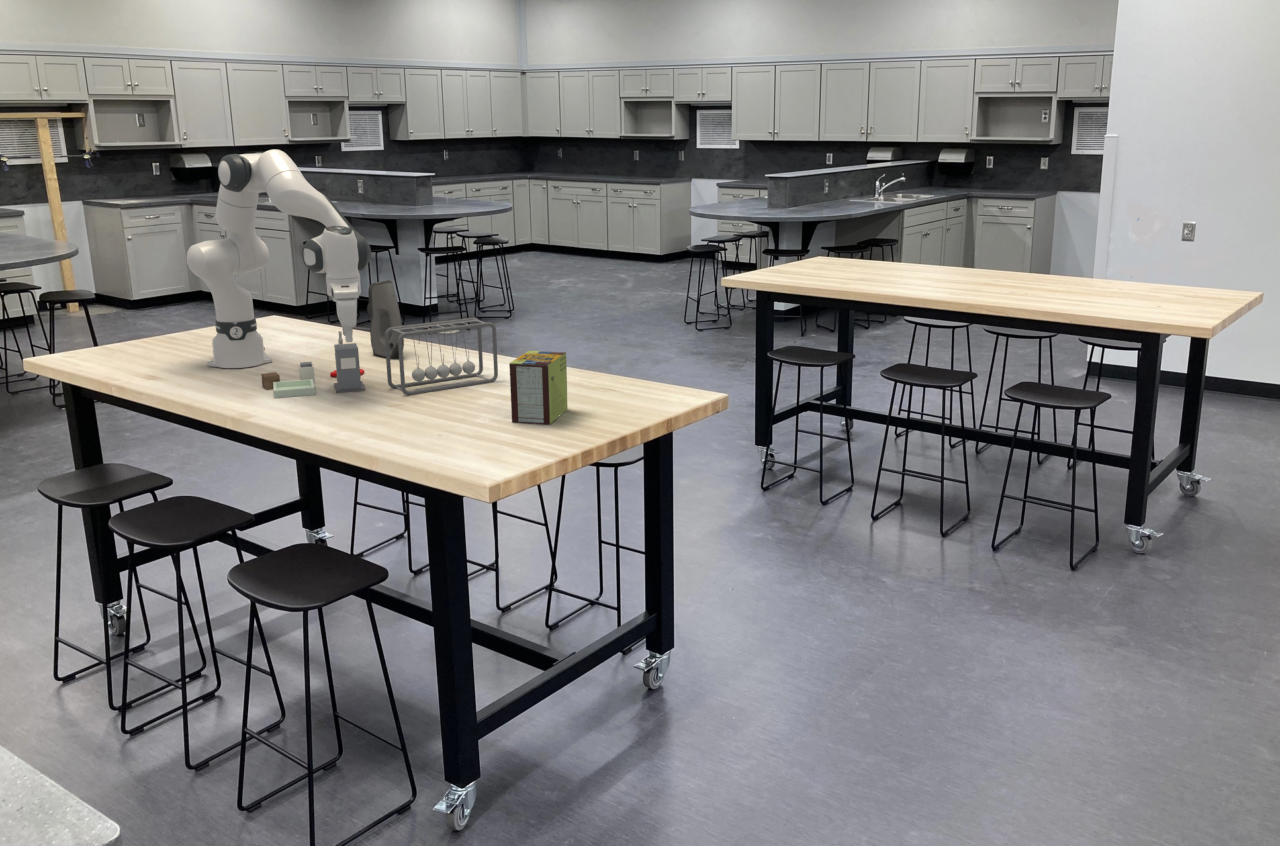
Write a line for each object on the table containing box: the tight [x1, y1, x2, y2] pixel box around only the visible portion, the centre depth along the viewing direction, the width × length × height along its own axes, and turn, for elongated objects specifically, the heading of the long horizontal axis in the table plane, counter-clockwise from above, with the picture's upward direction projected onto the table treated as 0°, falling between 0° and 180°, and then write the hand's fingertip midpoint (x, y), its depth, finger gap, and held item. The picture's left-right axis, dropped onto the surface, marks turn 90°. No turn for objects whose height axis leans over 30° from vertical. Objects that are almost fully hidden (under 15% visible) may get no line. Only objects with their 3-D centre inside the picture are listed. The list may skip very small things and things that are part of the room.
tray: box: [272, 379, 316, 399], centre depth 295 cm, size 11×11×2 cm
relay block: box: [298, 361, 316, 385], centre depth 305 cm, size 4×4×6 cm
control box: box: [333, 342, 366, 394], centre depth 299 cm, size 10×8×12 cm
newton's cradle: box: [385, 317, 499, 396], centre depth 301 cm, size 30×10×18 cm, turn 126°
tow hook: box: [329, 330, 365, 378], centre depth 316 cm, size 9×14×10 cm
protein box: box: [509, 350, 569, 425], centre depth 269 cm, size 10×15×16 cm
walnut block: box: [260, 371, 281, 391], centre depth 301 cm, size 4×4×4 cm
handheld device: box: [366, 279, 405, 360], centre depth 338 cm, size 6×15×25 cm, turn 46°
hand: (347, 338), depth 286 cm, fingers open, 8 cm apart
